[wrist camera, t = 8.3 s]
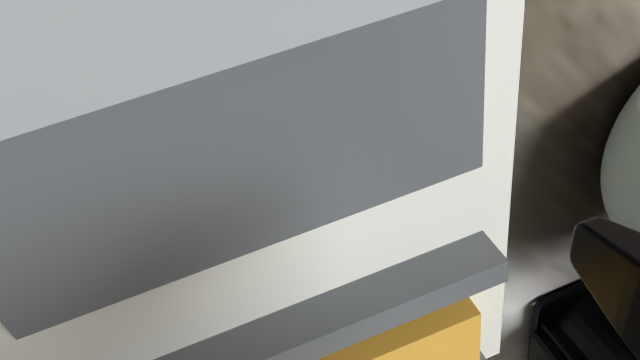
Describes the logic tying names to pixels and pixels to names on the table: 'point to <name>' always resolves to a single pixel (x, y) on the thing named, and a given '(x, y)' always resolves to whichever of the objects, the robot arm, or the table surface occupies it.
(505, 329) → the table surface
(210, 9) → the grey rectangular block
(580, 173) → the table surface
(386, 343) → the yellow rectangular block
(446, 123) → the breaker box
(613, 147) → the air freshener
